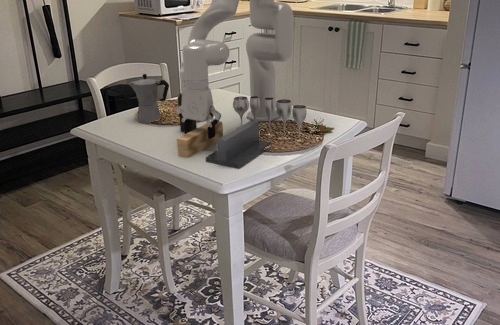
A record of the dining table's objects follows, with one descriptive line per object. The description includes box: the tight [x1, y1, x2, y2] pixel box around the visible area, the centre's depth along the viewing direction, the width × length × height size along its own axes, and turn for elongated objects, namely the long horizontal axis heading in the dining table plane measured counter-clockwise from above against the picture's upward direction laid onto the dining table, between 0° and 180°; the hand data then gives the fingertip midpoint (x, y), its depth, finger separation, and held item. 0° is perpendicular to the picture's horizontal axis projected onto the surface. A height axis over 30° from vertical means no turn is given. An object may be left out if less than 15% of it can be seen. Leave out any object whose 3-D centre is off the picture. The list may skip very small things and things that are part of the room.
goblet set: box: [232, 95, 308, 138], centre depth 172 cm, size 28×6×13 cm, turn 59°
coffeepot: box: [127, 73, 170, 124], centre depth 191 cm, size 15×9×18 cm, turn 87°
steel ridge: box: [205, 120, 272, 170], centre depth 159 cm, size 20×12×8 cm, turn 149°
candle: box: [177, 60, 198, 133], centre depth 178 cm, size 5×5×25 cm
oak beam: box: [176, 120, 224, 158], centre depth 166 cm, size 20×4×6 cm, turn 149°
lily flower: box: [307, 117, 335, 136], centre depth 177 cm, size 12×12×5 cm
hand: (199, 135), depth 166 cm, fingers open, 9 cm apart
